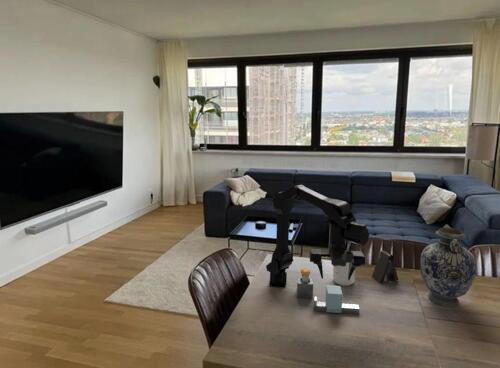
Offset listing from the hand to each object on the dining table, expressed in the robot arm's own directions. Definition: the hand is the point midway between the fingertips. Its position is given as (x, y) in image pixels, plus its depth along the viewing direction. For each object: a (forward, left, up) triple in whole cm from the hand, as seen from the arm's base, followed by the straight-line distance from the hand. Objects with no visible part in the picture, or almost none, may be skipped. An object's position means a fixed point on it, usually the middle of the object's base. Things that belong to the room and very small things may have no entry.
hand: (335, 279), depth 127 cm
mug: (+6, +25, -12) cm, 28 cm away
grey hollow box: (-10, +10, -12) cm, 19 cm away
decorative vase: (+43, +14, -12) cm, 47 cm away
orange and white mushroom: (-10, +10, -10) cm, 17 cm away
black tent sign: (+25, +29, -12) cm, 40 cm away
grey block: (0, 0, -12) cm, 12 cm away
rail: (+1, 0, -12) cm, 12 cm away
